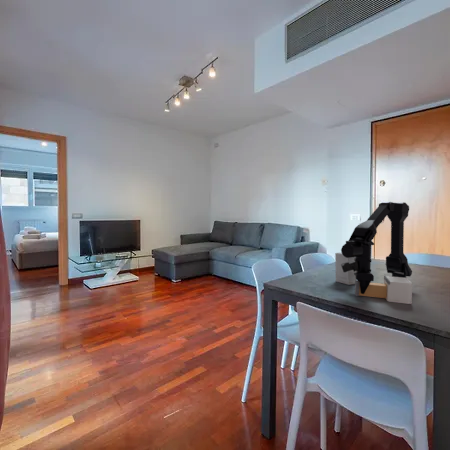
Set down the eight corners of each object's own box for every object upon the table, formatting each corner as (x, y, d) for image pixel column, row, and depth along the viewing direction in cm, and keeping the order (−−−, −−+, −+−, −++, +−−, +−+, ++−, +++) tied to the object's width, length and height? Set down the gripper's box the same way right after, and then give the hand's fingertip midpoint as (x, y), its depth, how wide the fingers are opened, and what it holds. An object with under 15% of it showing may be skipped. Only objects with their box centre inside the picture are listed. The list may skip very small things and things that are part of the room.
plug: (354, 292, 118) (355, 280, 118) (398, 297, 112) (398, 284, 112) (355, 295, 114) (356, 282, 114) (400, 300, 108) (401, 287, 108)
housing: (383, 294, 117) (384, 275, 116) (405, 296, 114) (405, 277, 113) (387, 301, 107) (388, 281, 107) (411, 304, 104) (412, 283, 104)
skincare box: (356, 284, 132) (357, 253, 132) (347, 285, 130) (348, 254, 129) (342, 279, 140) (343, 251, 139) (334, 281, 137) (335, 252, 137)
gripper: (341, 251, 126) (340, 284, 127) (343, 258, 109) (342, 296, 109) (368, 253, 122) (367, 287, 123) (374, 260, 104) (373, 299, 105)
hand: (361, 292), depth 115 cm, fingers closed on plug, 4 cm apart
